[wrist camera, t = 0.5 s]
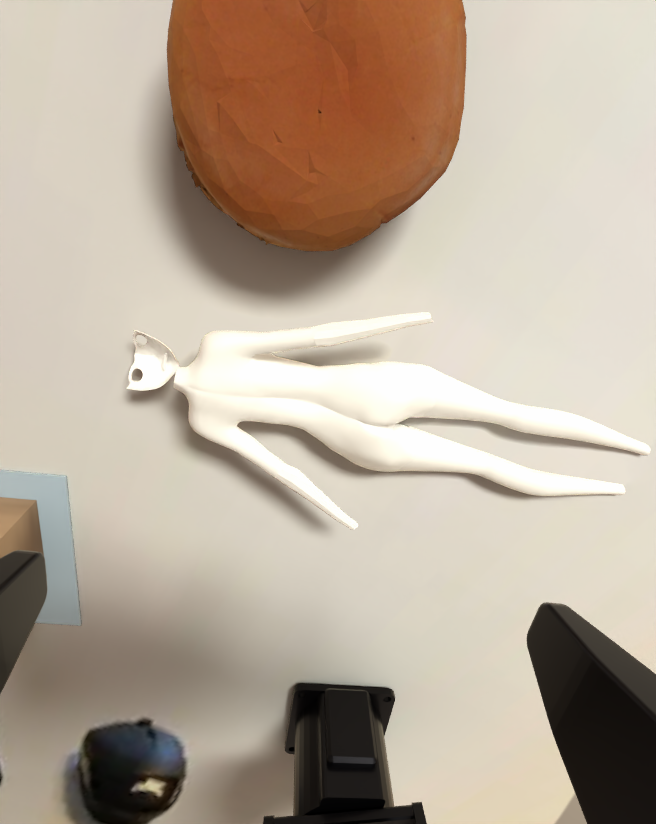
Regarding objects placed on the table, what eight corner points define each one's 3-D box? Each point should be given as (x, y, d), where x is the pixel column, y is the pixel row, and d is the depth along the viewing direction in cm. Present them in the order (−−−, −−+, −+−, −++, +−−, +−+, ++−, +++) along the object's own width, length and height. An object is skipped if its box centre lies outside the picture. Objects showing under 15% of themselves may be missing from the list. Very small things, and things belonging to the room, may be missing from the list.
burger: (323, 294, 20) (328, 316, 15) (134, 124, 17) (75, 93, 13) (500, 90, 17) (565, 48, 13) (309, -152, 14) (310, -308, 10)
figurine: (652, 362, 24) (150, 225, 18) (716, 389, 21) (125, 232, 15) (560, 522, 28) (123, 451, 22) (601, 566, 24) (99, 496, 19)
